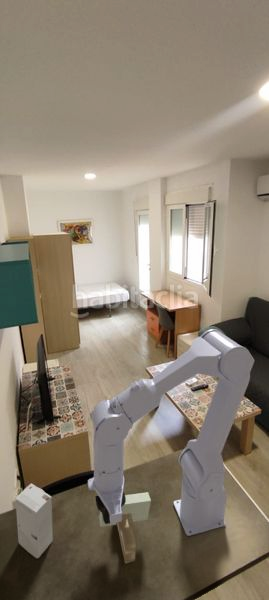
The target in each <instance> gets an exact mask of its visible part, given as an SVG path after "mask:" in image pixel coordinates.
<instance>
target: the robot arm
mask: <svg viewBox="0 0 269 600" xmlns="http://www.w3.org/2000/svg"><path fill="white" fill-rule="evenodd" d="M254 363H255V359H254V357H253V356H252V354H251V352H250V351H249V349H248V348H247V347H245V346H242V345H240V344H238V342H236V341H234V340H233V339H231V338H230V337H228V336H226V334H224V333H223V332H222V331H220V330H219V329H215V328H211V329H207V330H205V331H204V332H203V333H202V334H201V335H200V336H198V337H196V338H194V339H193V341H192V343H191V345H190V347H189V348H188V350H186V351H185V352H183V354H181V355H180V356H179V357H177V358H176V359H175V360H174V361H172V362H171V363H169V365H167V366H166V367H165V368H164V369H163V370H162V371H160V372H159V373H157V374H156V375H155V376H154V377H152V378H151V379H149V378H140V379H139V380H138V381H137V380H135V381H133V382H132V383H130V386H129V387H128V388H126V389H125V390H123V391H122V392H121V393H119V394H117V395H116V396H114V397H112V398H111V399H104V400H100V401H99V402H98V403H97V404H96V405H95V406H93V409H92V411H91V412H90V413H89V416H90V417H89V418H90V420H91V422H92V425H93V444H92V445H93V449H92V451H93V477H91V478H89V479H87V485H88V486H87V487H88V490H89V491H95V492H96V494H97V495H95V503H96V507H97V510H98V511H99V512H100V511H101V513H102V515H103V519H104V522H105V524H109V523H111V524H113V523H116V524H117V522H121V521H122V511H121V507H122V506H123V505H124V504H125V502H126V497H125V495H126V494H125V491H124V488H125V476H124V461H125V460H124V455H125V454H124V453H125V448H124V447H125V441H124V440H125V439H126V438H127V436H128V434H129V432H130V430H131V429H132V428H133V427H134V424H135V423H136V422H138V421H139V420H141V419H142V418H143V417H145V416H146V415H147V414H150V412H152V411H154V410H155V409H156V408H158V407H159V406H160V404H161V400H162V397H163V395H165V394H167V393H168V392H170V391H172V390H173V389H175V388H176V387H178V386H180V385H182V384H183V383H185V382H187V381H188V380H190V379H192V378H193V377H195V376H196V375H203V376H204V375H205V376H209V377H213V378H218V382H217V384H216V386H215V389H214V392H213V395H212V398H211V400H210V403H209V405H208V408H207V411H206V413H205V416H204V419H203V422H202V425H201V427H200V430H199V433H198V435H197V439H196V438H195V439H190V440H188V441H187V444H186V446H185V447H184V449H183V450H182V451H181V452H180V454H179V457H178V464H179V466H180V468H182V482H181V483H182V484H181V493H180V494H181V495H180V499H177V500H174V501H173V506H174V508H175V511H176V514H177V516H178V518H179V521H180V523H181V526H182V527H183V530H184V532H185V534H186V536H193V535H197V534H200V533H205V532H207V531H208V532H209V531H211V530H215V529H218V528H221V527H225V526H226V521H225V514H226V506H227V493H226V489H225V485H224V484H225V483H224V478H225V474H226V467H225V465H224V459H223V457H222V452H223V449H224V447H225V444H226V442H227V438H228V437H229V434H230V431H231V429H232V426H233V423H234V421H235V419H236V416H237V414H238V411H239V409H240V406H241V403H242V400H243V398H244V395H245V393H246V392H247V391H246V390H247V388H248V386H249V383H250V379H251V371H252V368H253V366H254Z"/></svg>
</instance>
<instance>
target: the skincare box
mask: <svg viewBox="0 0 269 600" xmlns="http://www.w3.org/2000/svg"><path fill="white" fill-rule="evenodd" d="M52 499H53V497H52V496H51V495H50V494H48V493H46V492H45V491H44V490H43V489H42V488H41V487H38V486H36V485H35V484H33V483H29V485H27V486H26V487H25V488H24V490H22V491H21V492H20V493H19V494H18V495H17V496H16V497H15V512H16V525H17V539H18V543H19V545H20V546H21V547H22V548H23V549H24V550H26V552H28V553H29V554H30V555H31V556H33V557H34V558H35V559H39V558H40V557H41V556H42V554H43V553H45V552H46V550H47V549H48V547H49V546H50V545H51V544H52V542H53V541H54V540H53V508H52V507H53V505H52V504H53V503H52V502H53V501H52Z"/></svg>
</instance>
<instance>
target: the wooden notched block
mask: <svg viewBox="0 0 269 600" xmlns="http://www.w3.org/2000/svg"><path fill="white" fill-rule="evenodd" d="M116 526H117V531H118V536H119V541H120V546H121V551H122V555H123V559H124V563H125V564H129V563H132V562H135V561H136V546H137V545H136V543H137V542H136V539H135V535H134V531H133V527H132V525H130V524H129V521H128V514H122V521H121V522H117V523H116Z"/></svg>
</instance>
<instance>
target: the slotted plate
mask: <svg viewBox="0 0 269 600" xmlns="http://www.w3.org/2000/svg"><path fill="white" fill-rule="evenodd" d="M125 497H126V502H125V504H124V505H123V506H122V507H121V511H122V514H127V515H128V514H130V515H131V520H132V523H133V522H141V521H145V520H148V519H149V515H150V514H149V513H150V508H151V502H152V500H151V497H150V494H149V491H147V492H140V493H132V494H125ZM98 520H99V525H100V528H104V527H105V528H106V527H110V526H117V523H113V524H111V523H109V524H105V522H104V519H103V515H102V513H101V511H100V510H99V516H98Z"/></svg>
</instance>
